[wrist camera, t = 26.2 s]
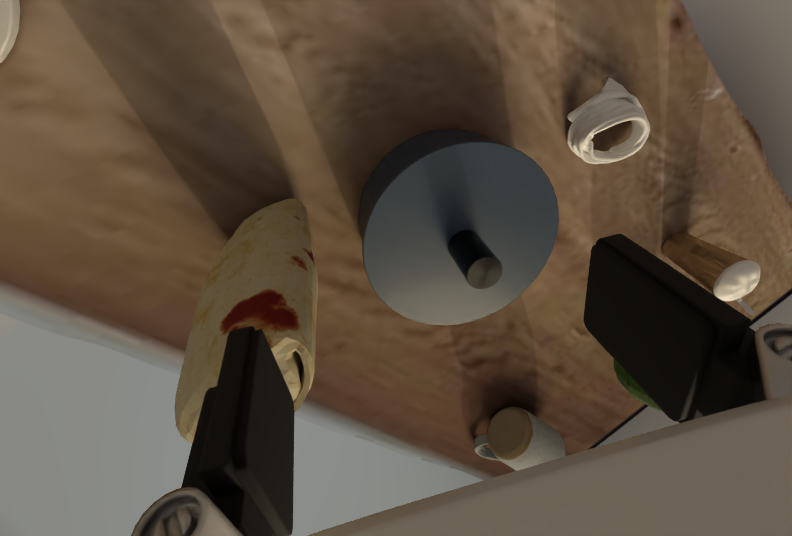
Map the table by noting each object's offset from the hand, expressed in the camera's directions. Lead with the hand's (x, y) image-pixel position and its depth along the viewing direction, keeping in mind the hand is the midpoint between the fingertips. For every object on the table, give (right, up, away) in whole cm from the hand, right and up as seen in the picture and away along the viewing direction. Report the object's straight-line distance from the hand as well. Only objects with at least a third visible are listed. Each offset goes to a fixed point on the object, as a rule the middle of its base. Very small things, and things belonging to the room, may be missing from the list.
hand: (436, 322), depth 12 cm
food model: (-13, +5, +26) cm, 29 cm away
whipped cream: (+18, +15, +27) cm, 35 cm away
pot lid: (+4, +4, +23) cm, 24 cm away
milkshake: (+31, +4, +36) cm, 48 cm away
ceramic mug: (+14, -21, +47) cm, 54 cm away
